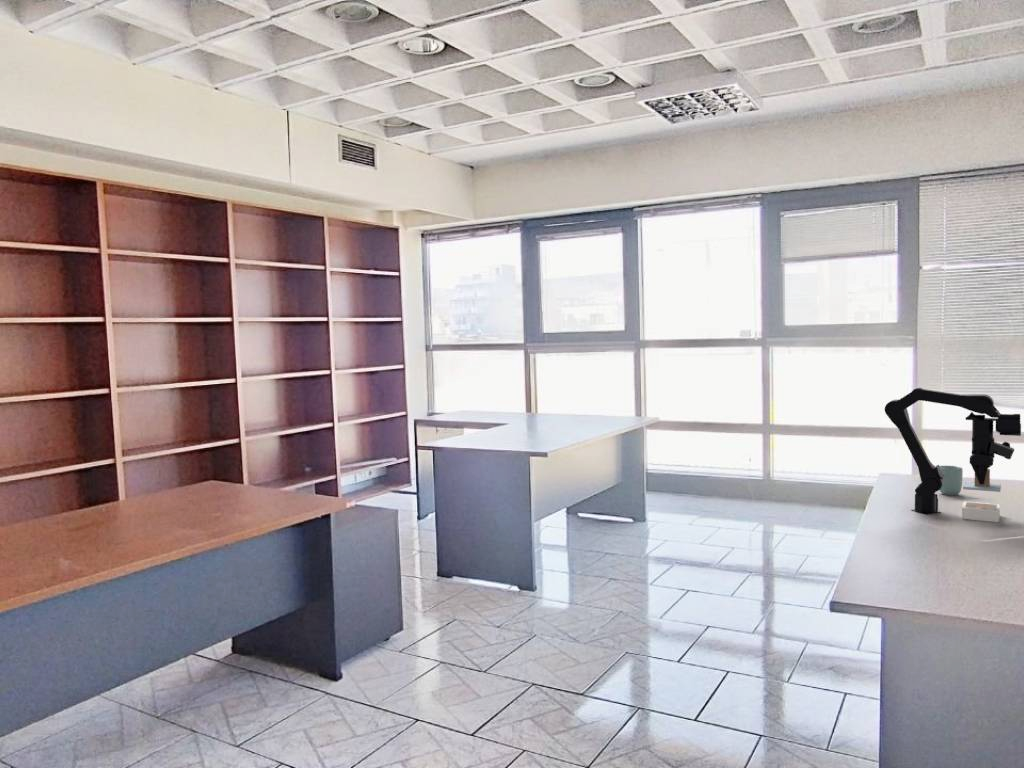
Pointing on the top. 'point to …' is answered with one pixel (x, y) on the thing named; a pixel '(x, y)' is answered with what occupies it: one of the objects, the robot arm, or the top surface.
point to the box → (981, 511)
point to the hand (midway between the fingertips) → (982, 483)
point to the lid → (982, 487)
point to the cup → (951, 480)
